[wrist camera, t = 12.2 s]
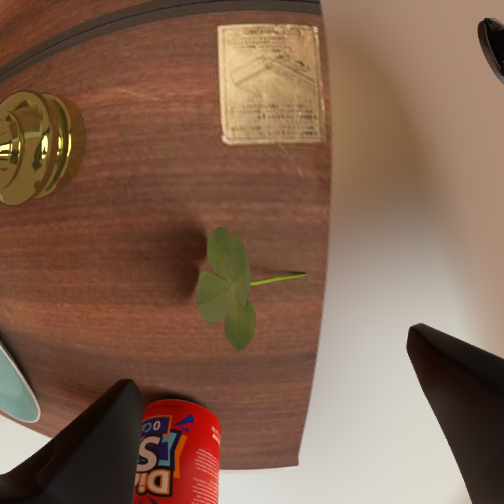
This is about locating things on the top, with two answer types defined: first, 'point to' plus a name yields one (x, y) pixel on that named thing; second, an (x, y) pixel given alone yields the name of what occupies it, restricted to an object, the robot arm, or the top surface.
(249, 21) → the top surface
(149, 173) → the top surface
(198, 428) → the soda can
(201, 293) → the green clover leaf
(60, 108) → the brass weight
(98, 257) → the top surface
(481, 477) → the robot arm
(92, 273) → the top surface
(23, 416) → the plate
